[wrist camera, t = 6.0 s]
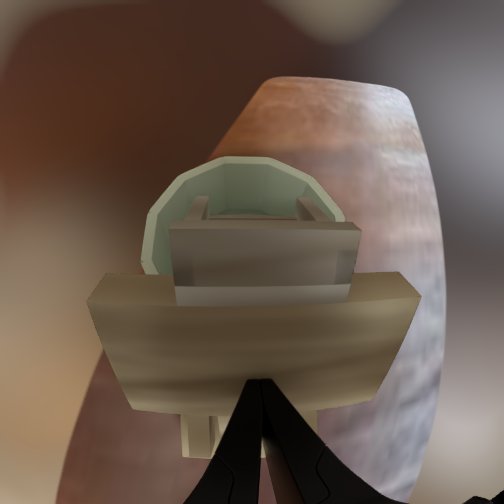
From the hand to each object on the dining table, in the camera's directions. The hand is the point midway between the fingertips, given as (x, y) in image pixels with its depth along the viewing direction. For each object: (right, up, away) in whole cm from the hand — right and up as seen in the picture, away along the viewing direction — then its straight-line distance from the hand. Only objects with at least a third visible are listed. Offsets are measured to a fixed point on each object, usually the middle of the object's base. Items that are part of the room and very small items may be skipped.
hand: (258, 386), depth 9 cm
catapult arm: (0, -4, +5) cm, 6 cm away
